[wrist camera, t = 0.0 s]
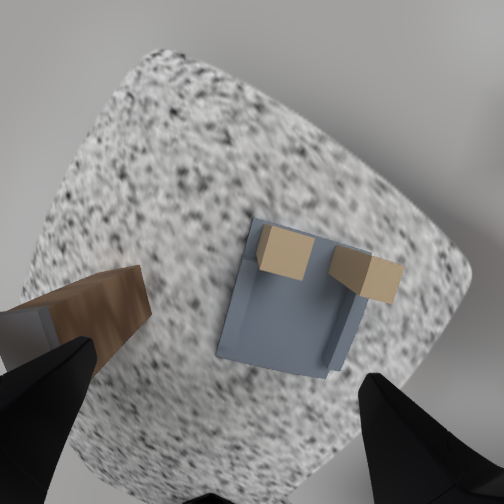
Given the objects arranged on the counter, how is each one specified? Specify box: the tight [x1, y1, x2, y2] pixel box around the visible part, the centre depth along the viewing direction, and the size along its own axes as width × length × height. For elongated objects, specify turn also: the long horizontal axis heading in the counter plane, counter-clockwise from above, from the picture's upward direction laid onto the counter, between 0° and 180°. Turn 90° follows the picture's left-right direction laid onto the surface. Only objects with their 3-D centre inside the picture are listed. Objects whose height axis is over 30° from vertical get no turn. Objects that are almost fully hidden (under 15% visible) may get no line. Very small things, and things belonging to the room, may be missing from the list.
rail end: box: [0, 265, 152, 379], centre depth 17 cm, size 5×5×14 cm
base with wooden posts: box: [216, 218, 404, 379], centre depth 20 cm, size 12×10×8 cm
